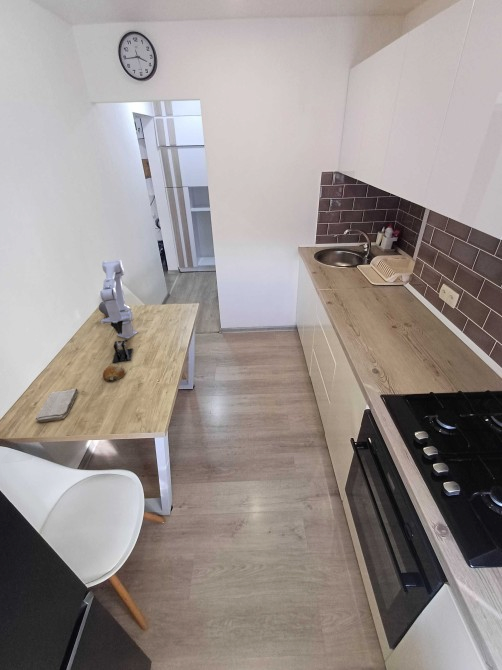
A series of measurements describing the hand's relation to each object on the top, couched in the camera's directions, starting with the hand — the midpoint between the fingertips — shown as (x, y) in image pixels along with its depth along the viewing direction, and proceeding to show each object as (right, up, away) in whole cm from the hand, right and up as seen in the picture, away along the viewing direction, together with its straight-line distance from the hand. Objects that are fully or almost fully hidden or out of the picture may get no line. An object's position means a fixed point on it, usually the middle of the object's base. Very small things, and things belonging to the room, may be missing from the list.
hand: (120, 333), depth 171 cm
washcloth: (-14, -33, -32) cm, 48 cm away
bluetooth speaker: (-18, +9, +37) cm, 42 cm away
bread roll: (+3, -22, -15) cm, 27 cm away
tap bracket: (+2, -13, -1) cm, 13 cm away
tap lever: (+1, -7, -1) cm, 7 cm away
